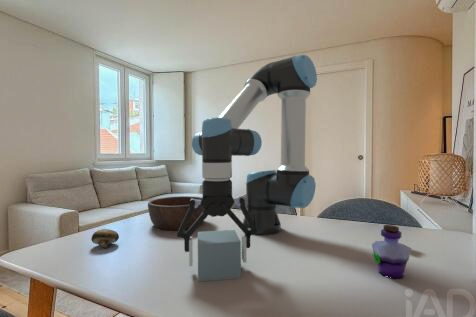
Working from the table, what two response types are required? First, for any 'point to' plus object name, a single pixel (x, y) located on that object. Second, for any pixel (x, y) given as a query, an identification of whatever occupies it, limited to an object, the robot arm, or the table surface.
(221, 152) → the robot arm
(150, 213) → the wooden bowl
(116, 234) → the mushroom
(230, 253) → the smooth grey cuboid
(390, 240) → the potion bottle
